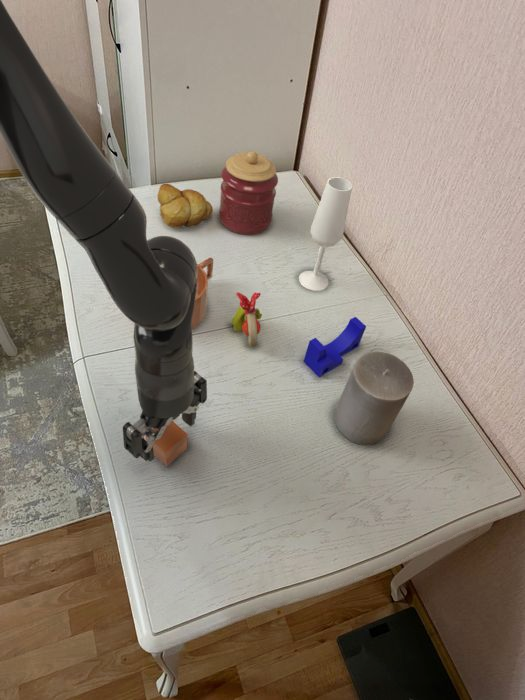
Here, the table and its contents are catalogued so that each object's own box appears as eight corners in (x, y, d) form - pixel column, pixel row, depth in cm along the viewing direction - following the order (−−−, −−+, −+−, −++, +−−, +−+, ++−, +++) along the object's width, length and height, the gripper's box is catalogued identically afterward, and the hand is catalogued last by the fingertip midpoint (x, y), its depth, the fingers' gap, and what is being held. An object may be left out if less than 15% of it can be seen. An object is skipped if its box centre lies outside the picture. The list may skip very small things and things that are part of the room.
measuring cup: (168, 346, 94) (167, 318, 89) (117, 306, 99) (113, 277, 94) (235, 298, 105) (239, 271, 99) (187, 264, 110) (187, 236, 104)
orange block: (166, 466, 78) (165, 452, 75) (147, 448, 80) (145, 434, 77) (187, 448, 81) (187, 433, 78) (168, 431, 83) (167, 416, 79)
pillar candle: (390, 408, 91) (419, 355, 80) (383, 453, 85) (414, 403, 74) (338, 392, 92) (360, 338, 81) (328, 435, 86) (350, 383, 75)
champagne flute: (312, 266, 115) (337, 170, 97) (334, 282, 112) (364, 186, 94) (292, 278, 111) (314, 180, 93) (315, 295, 109) (342, 198, 91)
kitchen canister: (277, 234, 121) (289, 167, 108) (224, 238, 118) (230, 168, 104) (263, 203, 129) (272, 137, 116) (213, 205, 125) (217, 137, 112)
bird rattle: (266, 349, 100) (258, 307, 102) (279, 331, 89) (270, 284, 91) (235, 353, 98) (228, 309, 100) (245, 335, 88) (237, 287, 90)
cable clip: (318, 377, 94) (325, 357, 89) (303, 361, 96) (309, 340, 92) (363, 351, 100) (371, 331, 95) (347, 337, 102) (355, 316, 97)
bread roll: (209, 207, 125) (210, 178, 119) (216, 231, 119) (218, 201, 113) (156, 209, 122) (155, 179, 116) (161, 234, 116) (160, 203, 110)
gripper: (184, 333, 71) (184, 398, 84) (102, 390, 64) (116, 453, 76) (223, 362, 69) (217, 425, 81) (142, 426, 61) (149, 485, 73)
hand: (168, 439), depth 78 cm, fingers open, 8 cm apart
